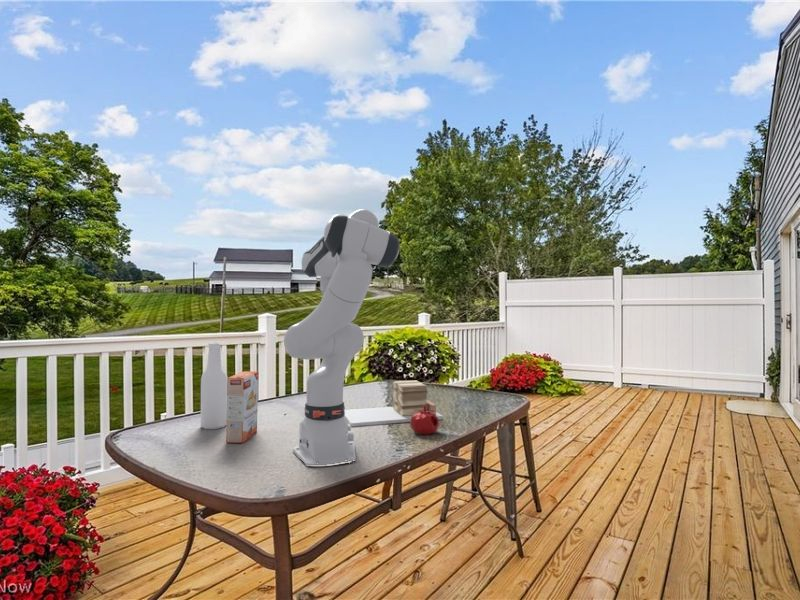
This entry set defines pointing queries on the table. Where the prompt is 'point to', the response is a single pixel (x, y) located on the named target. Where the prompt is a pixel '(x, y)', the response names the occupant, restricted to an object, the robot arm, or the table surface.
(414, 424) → the red apple
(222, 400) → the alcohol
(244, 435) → the cracker box
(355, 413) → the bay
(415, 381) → the crate
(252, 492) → the table surface
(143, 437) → the table surface
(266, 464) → the table surface
